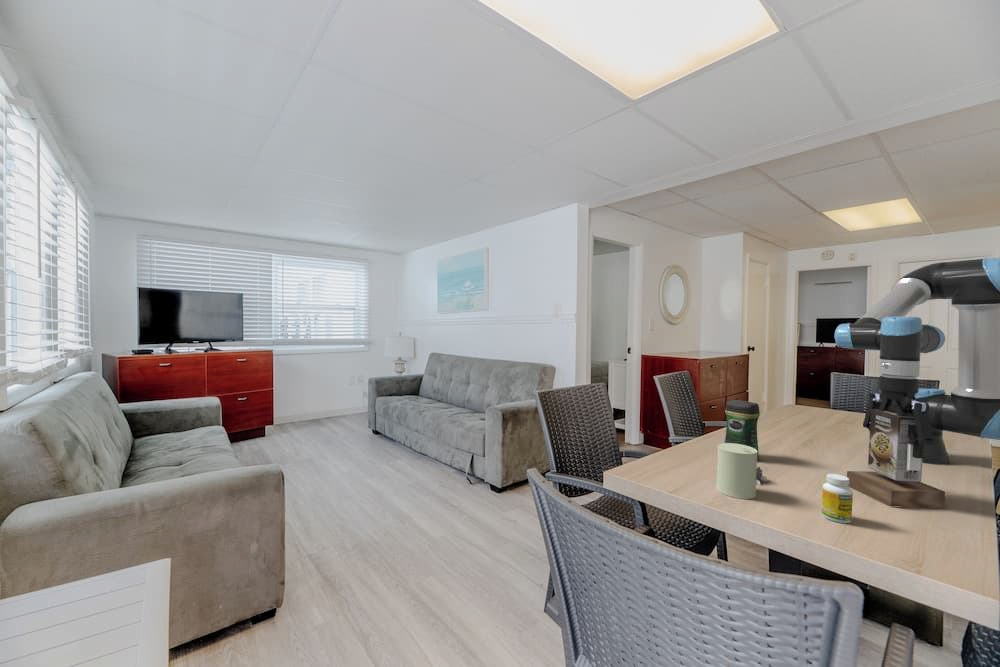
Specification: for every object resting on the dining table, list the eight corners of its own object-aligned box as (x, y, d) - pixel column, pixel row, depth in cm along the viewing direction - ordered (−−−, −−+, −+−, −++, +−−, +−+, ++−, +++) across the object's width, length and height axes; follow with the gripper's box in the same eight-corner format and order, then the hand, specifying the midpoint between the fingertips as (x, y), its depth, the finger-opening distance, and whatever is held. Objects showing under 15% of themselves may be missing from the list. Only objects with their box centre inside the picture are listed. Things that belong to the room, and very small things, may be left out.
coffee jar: (762, 458, 135) (764, 402, 135) (749, 462, 131) (751, 404, 131) (732, 450, 144) (734, 397, 143) (719, 454, 139) (721, 399, 139)
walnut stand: (893, 486, 114) (894, 471, 114) (944, 507, 101) (945, 491, 101) (846, 485, 114) (847, 471, 114) (890, 506, 101) (891, 490, 101)
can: (742, 501, 102) (743, 453, 102) (708, 488, 110) (709, 443, 110) (764, 495, 106) (765, 449, 106) (730, 482, 115) (731, 439, 114)
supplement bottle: (833, 511, 98) (835, 471, 97) (857, 522, 92) (859, 480, 92) (815, 513, 96) (817, 473, 96) (838, 525, 91) (840, 482, 91)
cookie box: (866, 467, 112) (869, 408, 111) (892, 469, 111) (895, 409, 111) (895, 480, 103) (898, 416, 102) (923, 482, 102) (926, 417, 102)
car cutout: (765, 490, 111) (766, 473, 111) (739, 482, 116) (740, 466, 116) (787, 478, 120) (788, 462, 120) (761, 471, 125) (762, 456, 125)
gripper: (848, 371, 117) (844, 449, 118) (927, 382, 95) (922, 479, 96) (874, 371, 117) (870, 449, 118) (960, 383, 95) (955, 479, 96)
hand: (894, 462), depth 107 cm, fingers closed on cookie box, 9 cm apart
